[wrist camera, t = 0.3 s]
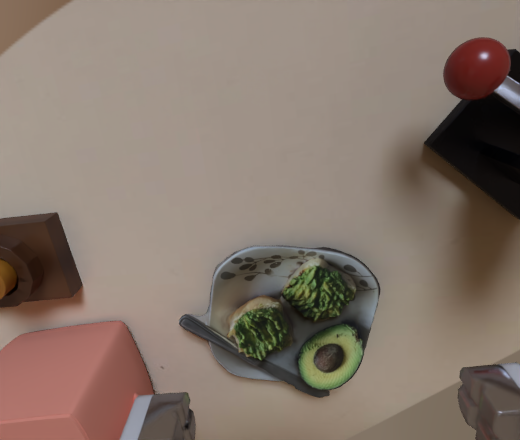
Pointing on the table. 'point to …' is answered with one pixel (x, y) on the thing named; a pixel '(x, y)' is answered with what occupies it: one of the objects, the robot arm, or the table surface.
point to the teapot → (70, 383)
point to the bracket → (485, 144)
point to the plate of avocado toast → (289, 315)
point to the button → (6, 278)
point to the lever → (482, 72)
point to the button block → (37, 259)
